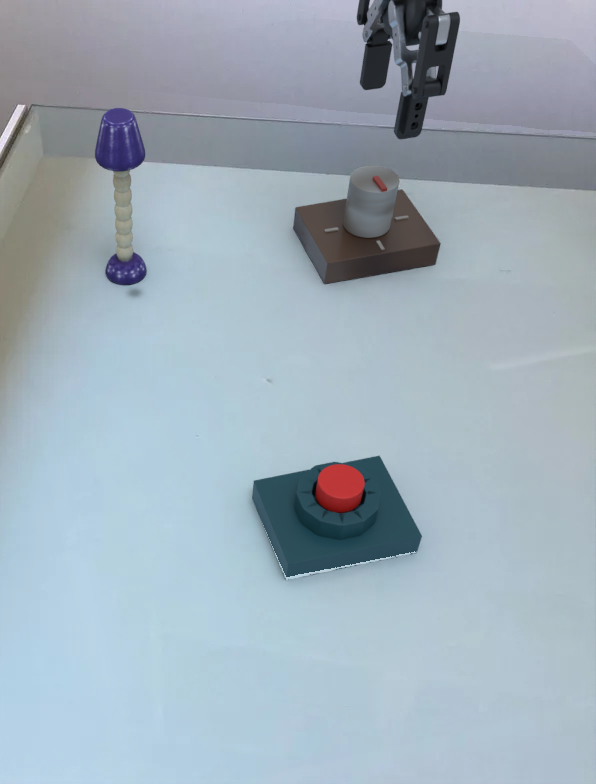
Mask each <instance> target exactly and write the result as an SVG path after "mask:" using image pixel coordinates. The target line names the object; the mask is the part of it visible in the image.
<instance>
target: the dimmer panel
mask: <svg viewBox="0 0 596 784" xmlns="http://www.w3.org/2000/svg"><path fill="white" fill-rule="evenodd" d="M346 200H347V198H343V199H337V200H329V201H325V202H317V203H312V204H305V205H301V206H295V208H294V216H293V226H292V229H293V231H294V232H295V234H296V236H297V237H298V239H299V241H300V243H301V245H302V246H303V248H304V250H305V252H306V254H307V256H308V257H309V259H310V261H311V262H312V265H313V266H314V268H315V269H316V271H317V273H318V275H319V277H320V278H321V280H322V282H323V284H324V285H327V284H333V283H338V282H345V281H349V280H355V279H361V278H366V277H367V278H368V277H373V276H377V275H384V274H389V273H395V272H401V271H405V270H412V269H418V268H422V267H428V266H435V265H436V264H437V260H438V255H439V252H440V247H441V244H442V243H441V242H440V240H439V239H438V238H437V236H436V235H435V233H434V231H433V230H432V229H431V227H430V226H429V224H428V223H427V222H426V221H425V219H424V218H423V216H422V215H421V213H420V212H419V210H418V209H417V208H416V206H415V205H414V203H413V202H412V200H411V199H410V197H409V196H408V195H407V192H406V191H404V189H402V188H401V189H398V191H397V196H396V201H395V206H394V211H393V216H392V221H391V226H390V229H389V230H388V232H386V233H385V234H384V235H382V236H379V237H374V238H363V237H358V236H355V235H353V234H351V233H349V232H348V231H347V230H346V229H345V227H344V225H343V219H344V213H345V206H346Z"/></svg>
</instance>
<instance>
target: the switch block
mask: <svg viewBox="0 0 596 784" xmlns="http://www.w3.org/2000/svg"><path fill="white" fill-rule="evenodd" d="M336 464H343V465H348V466H351V467H353V468H355V469H356V470H358V471H359V472H360V473H361V474H362V476H363V478H364V481H365V485H364V490H363V494H362V498H361V502H360V504H359V505H358V506H357V507H356V508H355V509H353V510H352V511H349V512H345V513H336V512H331V511H329V510H326V509H325V508H323V507H322V506H321V505H320V504H319V503H318V501H317V499H316V495H315V493H316V487H317V481H318V476H319V474H320V472H321V471H322V470H323V469H325V468H326V467H328V466H331V465H336ZM252 486H253V487H252V494H251V499H252V502H253V504H254V506H255V509H256V511H257V514H258V516H259V519H260V522H261V524H262V523H263V524H262V526H263V525H264V526H263V528H265V529H264V531H265V530H266V531H265V533H266V532H267V534H268V536H267V538H268V537H269V539H270V541H271V544H272V546H273V548H274V551H275V553H276V555H277V557H278V560H279V562H280V564H281V566H282V568H283V571H284V573H285V575H286V577H290V576H295V575H298V574H304V573H309V572H315V571H320V570H324V569H331V568H335V567H336V568H337V567H341V566H345V565H350V564H351V565H352V564H356V563H360V562H366V561H370V560H375V559H380V558H386V557H390V556H391V557H392V556H396V555H399V554H405V553H409V552H410V553H411V552H414V551H415V552H416V551H417V552H418V550H419V547H420V544H421V541H422V538H423V535H422V533H421V531H420V528H419V527H418V525H417V523H416V522H415V519H414V518H413V516H412V514H411V512H410V510H409V508H408V507H407V504H406V502H405V501H404V499H403V497H402V495H401V493H400V491H399V490H398V488H397V485H396V484H395V482H394V480H393V478H392V476H391V475H390V472H389V471H388V468H387V467H386V465H385V462H384V461H383V459H382V458H381V455H374V456H370V457H365V458H360V459H354V460H350V461H345V462H338V461H331V462H326V463H322V464H316V465H314V466H312V467H311V468H310V469H305V470H300V471H295V472H290V473H285V474H280V475H275V476H269V477H266V478H265V477H264V478H260V479H255V480H253V483H252ZM267 534H266V535H267ZM269 539H268V540H269ZM270 541H269V542H270ZM271 544H270V545H271ZM272 546H271V547H272ZM274 551H273V552H274ZM275 553H274V554H275Z"/></svg>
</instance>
